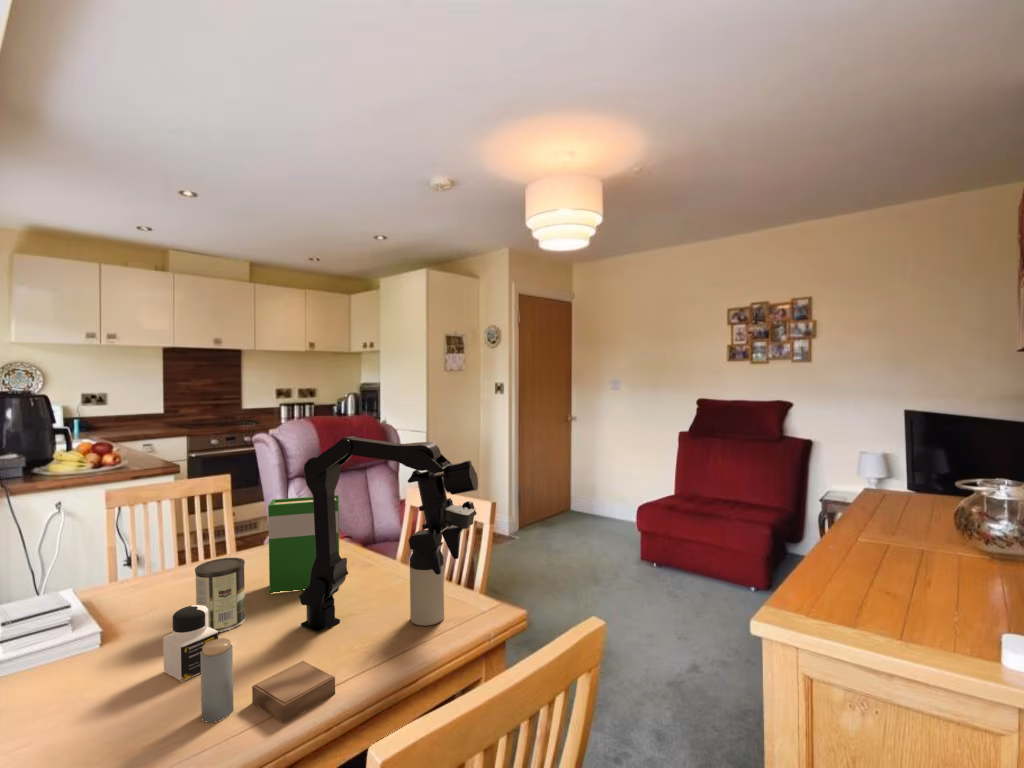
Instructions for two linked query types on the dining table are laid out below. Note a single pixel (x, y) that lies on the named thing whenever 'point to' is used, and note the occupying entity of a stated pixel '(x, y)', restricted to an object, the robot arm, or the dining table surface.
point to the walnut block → (293, 691)
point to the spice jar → (216, 680)
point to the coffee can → (222, 592)
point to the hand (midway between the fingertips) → (447, 566)
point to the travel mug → (426, 591)
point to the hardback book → (293, 542)
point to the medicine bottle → (187, 642)
